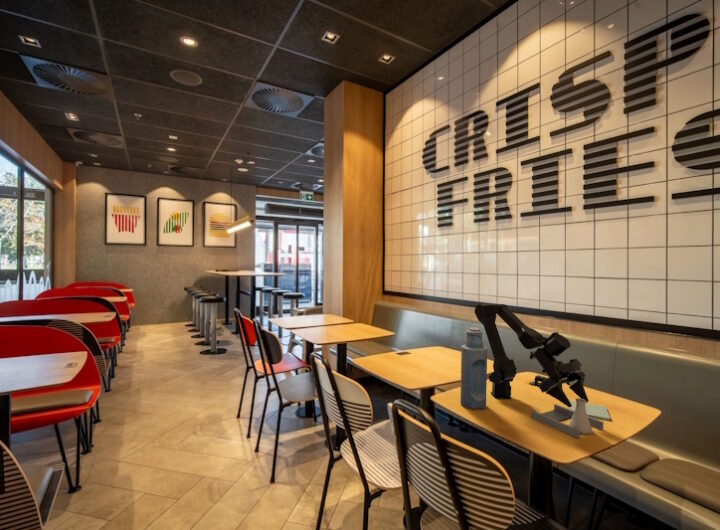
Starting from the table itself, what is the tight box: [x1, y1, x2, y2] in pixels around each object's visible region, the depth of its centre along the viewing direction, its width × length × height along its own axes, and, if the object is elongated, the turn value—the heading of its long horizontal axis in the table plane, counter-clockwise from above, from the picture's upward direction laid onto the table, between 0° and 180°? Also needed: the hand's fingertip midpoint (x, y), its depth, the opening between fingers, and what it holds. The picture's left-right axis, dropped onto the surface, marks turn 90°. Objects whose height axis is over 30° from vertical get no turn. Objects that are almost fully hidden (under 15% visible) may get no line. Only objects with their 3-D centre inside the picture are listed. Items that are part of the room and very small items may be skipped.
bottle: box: [459, 327, 488, 410], centre depth 142 cm, size 10×10×30 cm
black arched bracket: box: [528, 374, 547, 388], centre depth 165 cm, size 12×7×5 cm, turn 38°
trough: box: [530, 403, 604, 440], centre depth 127 cm, size 17×14×2 cm
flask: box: [568, 397, 594, 435], centre depth 123 cm, size 7×7×10 cm
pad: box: [569, 400, 611, 421], centre depth 138 cm, size 12×12×1 cm
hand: (579, 404), depth 123 cm, fingers open, 9 cm apart
